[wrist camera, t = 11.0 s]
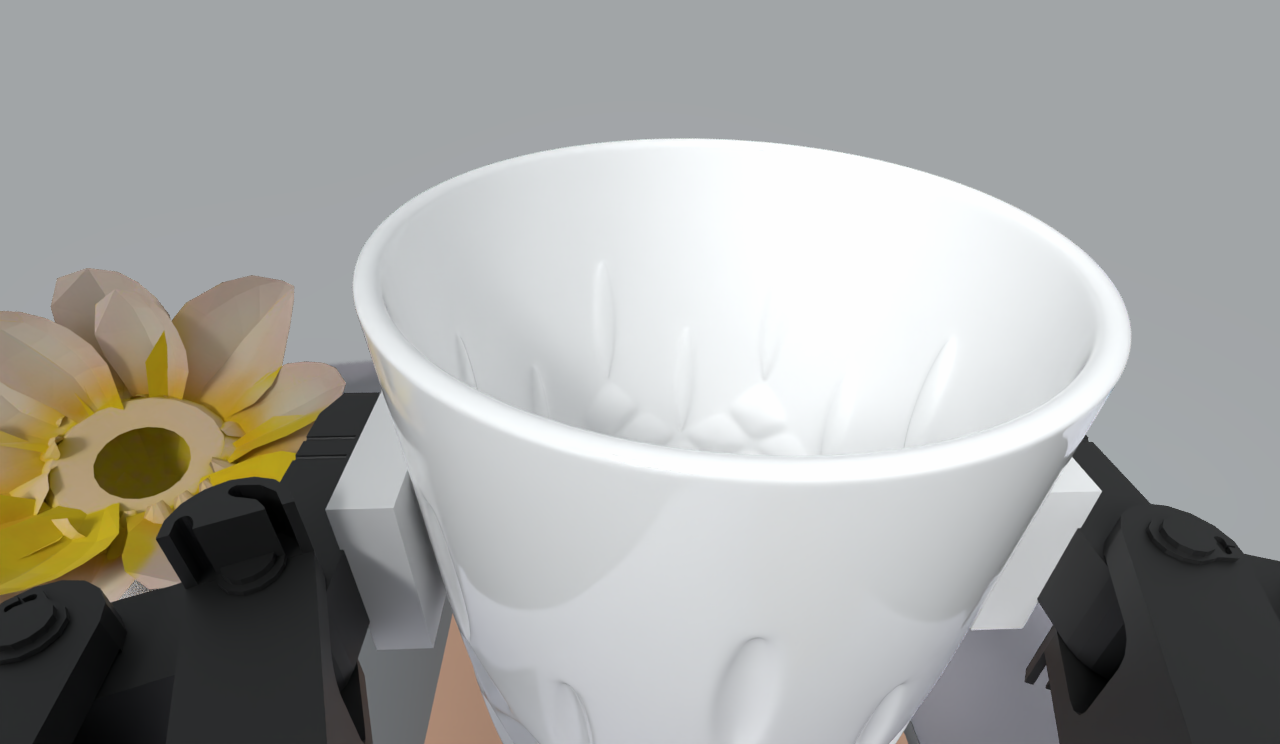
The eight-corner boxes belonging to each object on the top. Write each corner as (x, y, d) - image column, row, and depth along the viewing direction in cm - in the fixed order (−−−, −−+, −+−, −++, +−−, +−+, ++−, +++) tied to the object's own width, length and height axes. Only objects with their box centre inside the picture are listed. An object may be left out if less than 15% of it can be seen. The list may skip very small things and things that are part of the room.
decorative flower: (-218, 861, 14) (-566, 455, 11) (-112, 605, 22) (-287, 328, 19) (435, 548, 23) (368, 266, 19) (338, 447, 31) (278, 237, 27)
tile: (412, 798, 15) (495, 419, 27) (424, 826, 16) (499, 448, 28) (920, 775, 16) (786, 413, 27) (904, 805, 17) (780, 442, 28)
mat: (224, 1084, 13) (216, 1080, 12) (422, 475, 27) (421, 468, 26) (1022, 1034, 13) (1029, 1029, 13) (808, 467, 27) (810, 460, 27)
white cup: (909, 624, 15) (1092, 182, 9) (839, 1094, 9) (1245, 673, 3) (598, 509, 17) (587, 114, 12) (385, 809, 11) (153, 305, 6)
